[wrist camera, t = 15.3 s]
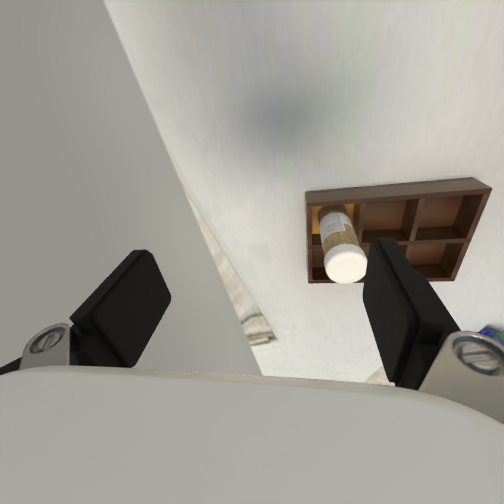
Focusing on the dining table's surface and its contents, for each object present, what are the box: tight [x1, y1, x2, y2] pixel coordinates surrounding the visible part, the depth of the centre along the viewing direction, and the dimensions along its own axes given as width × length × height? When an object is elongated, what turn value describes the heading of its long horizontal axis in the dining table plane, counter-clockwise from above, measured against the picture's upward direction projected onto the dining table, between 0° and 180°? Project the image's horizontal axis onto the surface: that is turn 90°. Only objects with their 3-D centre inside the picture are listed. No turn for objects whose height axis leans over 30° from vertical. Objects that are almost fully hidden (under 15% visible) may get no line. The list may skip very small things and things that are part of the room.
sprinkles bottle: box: [317, 205, 367, 284], centre depth 32 cm, size 5×5×13 cm
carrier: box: [305, 178, 492, 283], centre depth 38 cm, size 15×22×4 cm
